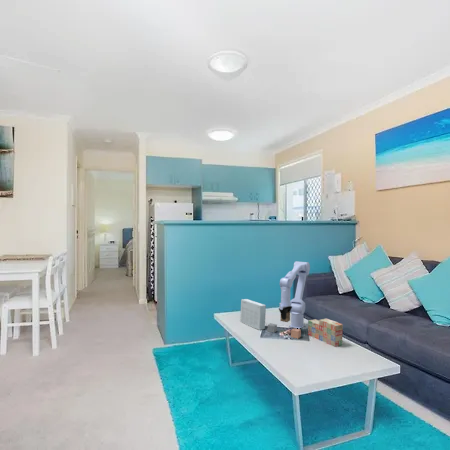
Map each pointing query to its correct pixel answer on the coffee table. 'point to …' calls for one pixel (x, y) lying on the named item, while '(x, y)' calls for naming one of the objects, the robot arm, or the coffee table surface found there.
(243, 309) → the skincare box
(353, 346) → the coffee table surface
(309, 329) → the stack of blocks
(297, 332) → the terracotta cube
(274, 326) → the grey cube
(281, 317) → the walnut block
